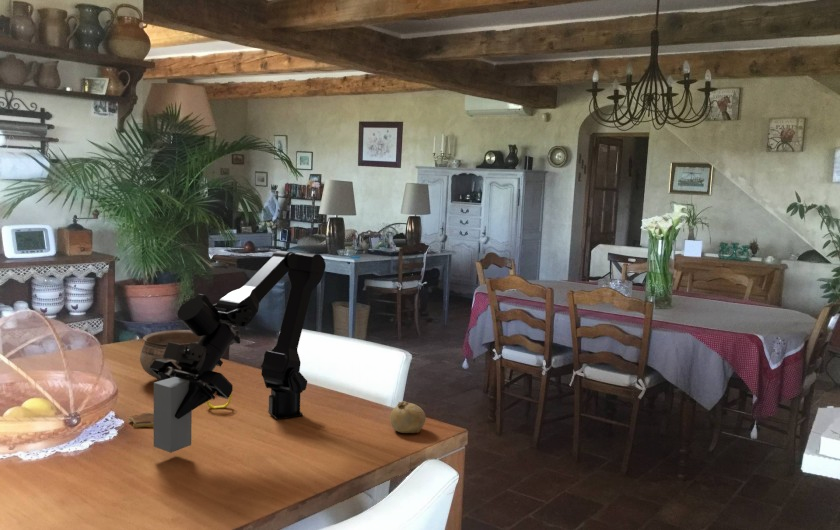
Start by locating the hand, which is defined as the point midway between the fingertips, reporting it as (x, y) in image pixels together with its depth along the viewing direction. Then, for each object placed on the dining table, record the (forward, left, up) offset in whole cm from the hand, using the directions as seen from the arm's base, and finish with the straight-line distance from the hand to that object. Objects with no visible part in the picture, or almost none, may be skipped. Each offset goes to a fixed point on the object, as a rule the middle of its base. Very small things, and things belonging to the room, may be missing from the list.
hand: (166, 415), depth 138 cm
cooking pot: (-13, -55, -9) cm, 57 cm away
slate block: (-1, -1, -7) cm, 7 cm away
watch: (-17, -28, -9) cm, 34 cm away
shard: (-2, -24, -10) cm, 26 cm away
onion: (-51, +5, -9) cm, 52 cm away
